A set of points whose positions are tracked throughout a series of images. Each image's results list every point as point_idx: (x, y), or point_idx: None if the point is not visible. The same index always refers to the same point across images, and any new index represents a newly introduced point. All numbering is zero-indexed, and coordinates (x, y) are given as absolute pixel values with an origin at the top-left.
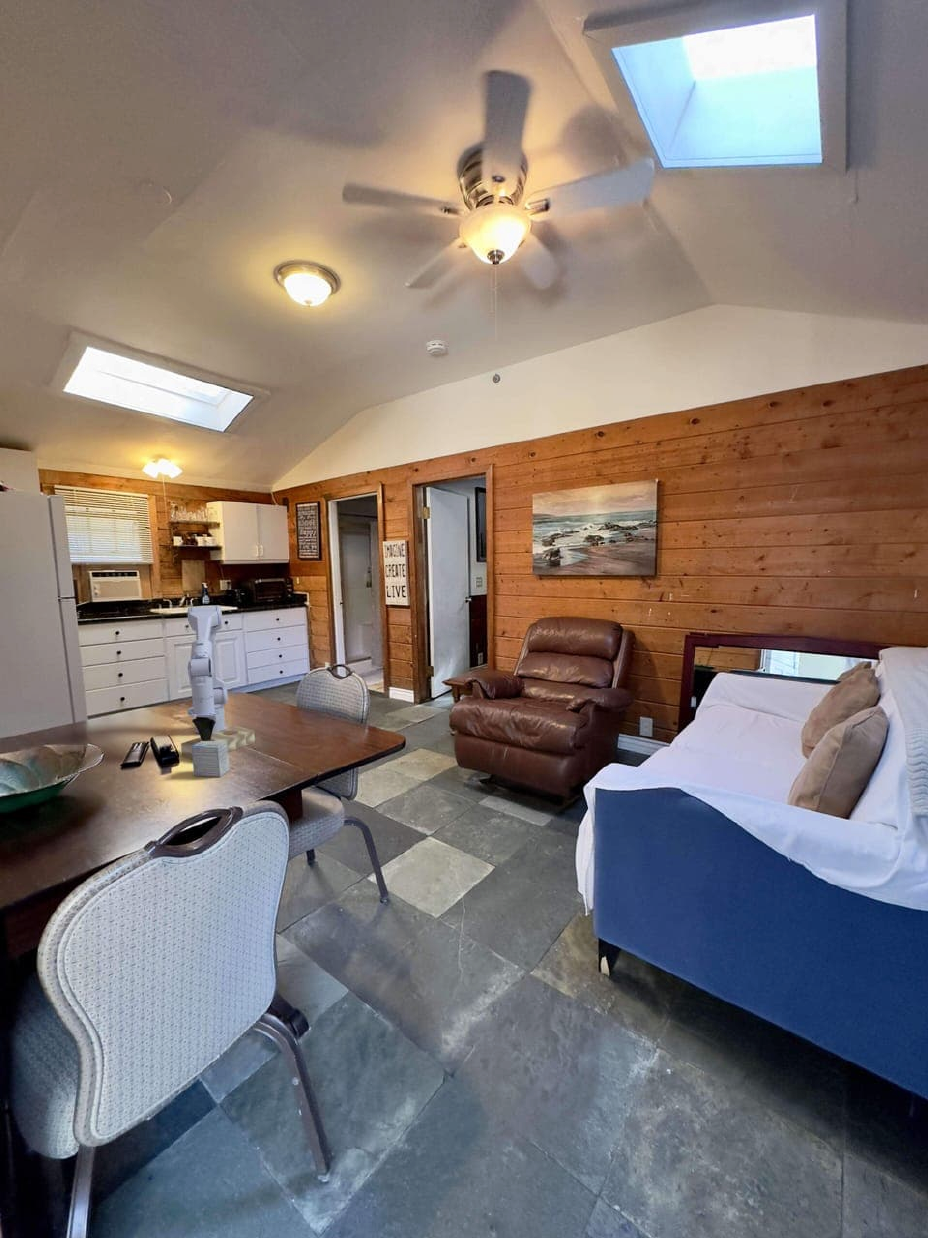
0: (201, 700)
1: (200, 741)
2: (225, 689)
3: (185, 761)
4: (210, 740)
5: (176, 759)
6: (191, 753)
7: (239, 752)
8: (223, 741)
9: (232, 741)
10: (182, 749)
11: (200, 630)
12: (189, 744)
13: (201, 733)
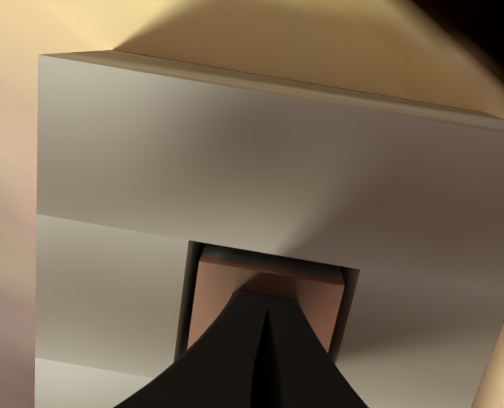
0: None
1: (304, 279)
2: None
3: (313, 11)
4: (189, 339)
5: (472, 18)
6: (289, 87)
7: (3, 353)
8: (37, 375)
9: None
10: (497, 121)
11: None
12: (389, 155)
13: (246, 347)
